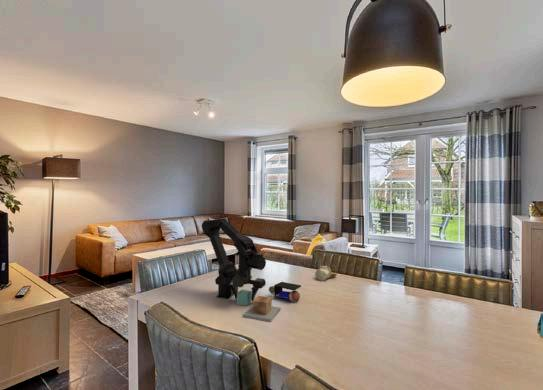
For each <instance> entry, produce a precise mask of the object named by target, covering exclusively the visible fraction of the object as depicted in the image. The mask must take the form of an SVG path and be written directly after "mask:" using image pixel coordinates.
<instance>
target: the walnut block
mask: <svg viewBox="0 0 543 390" xmlns="http://www.w3.org/2000/svg"><path fill="white" fill-rule="evenodd" d="M252 306H253V313H257V314H263V315H267V314H268V313H269V312H270V310H271V306H272V297H271V296H264V295H263V296H262V295H257V297H256V296H255V298H254V300H253V302H252Z"/></svg>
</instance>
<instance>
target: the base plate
mask: <svg viewBox="0 0 543 390" xmlns="http://www.w3.org/2000/svg"><path fill="white" fill-rule="evenodd" d="M281 310H282V309H281V307H278V306H272V305H271V310H270V312H269V313H268V314H267V315H263V314H257V313H253V305H252V306H250V307H249V308H248V309H247V310H246V311H245V312H244V313H243V314H242V317H243V318H248V319H253V320H257V321H258V320H259V321H265V322H269V323H271V322H272V321H273V320H274V319H275V317H276V316H277V315H278V314H279V312H280V311H281Z"/></svg>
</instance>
